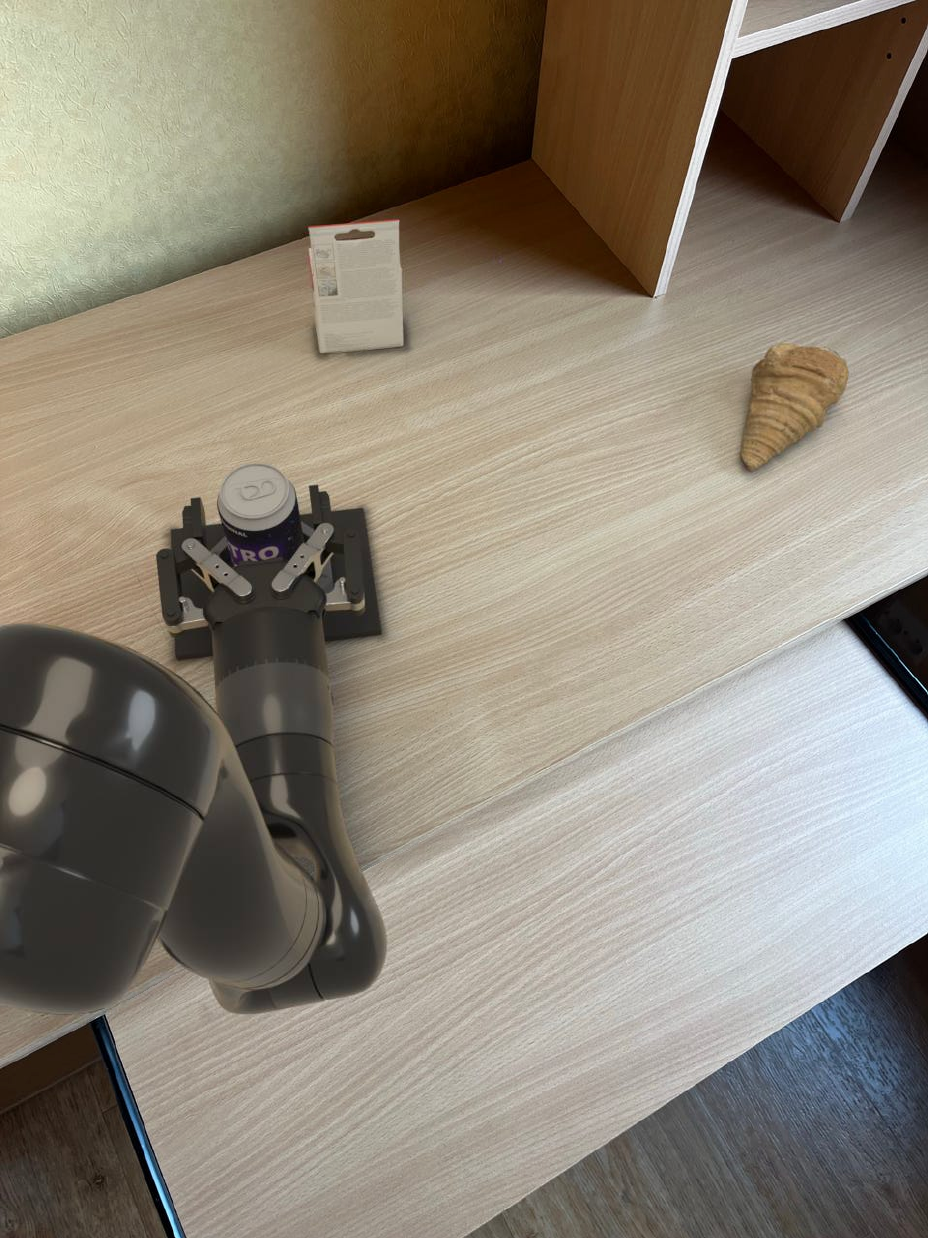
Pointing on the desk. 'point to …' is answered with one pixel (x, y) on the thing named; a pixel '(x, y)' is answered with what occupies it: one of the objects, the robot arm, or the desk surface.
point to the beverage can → (259, 513)
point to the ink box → (357, 287)
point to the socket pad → (331, 618)
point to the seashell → (789, 398)
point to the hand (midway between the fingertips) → (256, 497)
